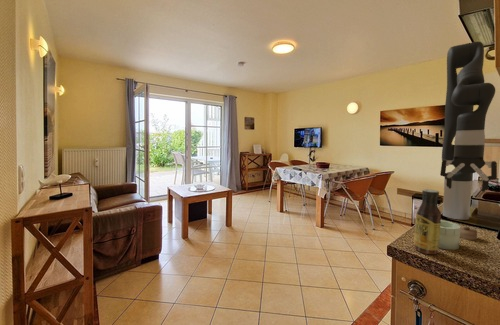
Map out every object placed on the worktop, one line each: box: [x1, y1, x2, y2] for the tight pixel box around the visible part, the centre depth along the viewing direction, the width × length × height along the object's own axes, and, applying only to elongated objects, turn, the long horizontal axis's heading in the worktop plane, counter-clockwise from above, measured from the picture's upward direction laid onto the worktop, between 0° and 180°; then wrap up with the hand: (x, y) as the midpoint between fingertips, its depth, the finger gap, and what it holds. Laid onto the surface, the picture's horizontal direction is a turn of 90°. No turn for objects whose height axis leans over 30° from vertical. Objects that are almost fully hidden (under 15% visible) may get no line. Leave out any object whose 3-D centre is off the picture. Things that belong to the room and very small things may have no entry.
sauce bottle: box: [413, 188, 442, 255], centre depth 73 cm, size 7×6×20 cm
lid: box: [460, 226, 478, 241], centre depth 84 cm, size 6×6×4 cm
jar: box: [438, 219, 461, 251], centre depth 78 cm, size 9×9×7 cm
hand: (466, 189), depth 81 cm, fingers open, 8 cm apart
